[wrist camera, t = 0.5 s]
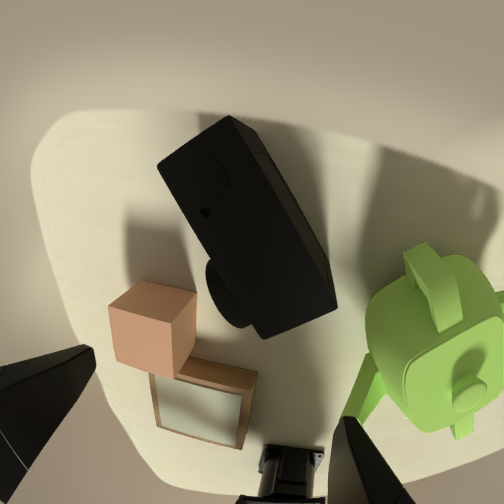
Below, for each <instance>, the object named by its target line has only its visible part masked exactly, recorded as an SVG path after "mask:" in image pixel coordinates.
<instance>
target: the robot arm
mask: <svg viewBox="0 0 504 504" xmlns="http://www.w3.org/2000/svg"><path fill="white" fill-rule="evenodd" d="M95 369H96V360H95V354H94V350H93V348H92V347H90V346H88V345H85V344H82V345H78V346H75V347H71V348H68V349H65V350H61V351H57V352H54V353H50V354H46V355H43V356H39V357H35V358H32V359H28V360H24V361H21V362H17V363H13V364H9V365H5V366H1V367H0V500H1V502H3V503H4V504H7V502H8V501H9V499H10V498H11V496H12V495H13V493H14V491H15V490H16V488H17V487H18V485H19V483H20V482H21V480H22V479H23V477H24V476H25V474H26V473H27V471H28V470H29V468H30V467H31V465H32V463H33V462H34V461H35V459H36V458H37V456H38V455H39V453H40V452H41V450H42V449H43V447H44V446H45V445H46V443H47V442H48V440H49V439H50V437H51V436H52V434H53V433H54V432H55V430H56V429H57V428H58V426H59V425H60V423H61V422H62V421H63V419H64V417H65V416H66V415H67V414H68V412H69V411H70V410H71V408H72V407H73V405H74V404H75V403H76V401H77V400H78V398H79V397H80V395H81V393H82V392H83V390H84V388H85V387H86V385H87V383H88V381H89V379H90V378H91V376H92V374H93V373H94V371H95ZM323 458H324V452H323V451H315V450H305V449H297V448H289V447H282V446H275V445H266V446H265V450H264V453H263V457H262V460H261V464H260V467H259V471H258V472H259V473H261V474H262V478H261V482H260V487H259V491H258V496H257V497H253V496H246V495H240V496H239V499H238V500H237V501H236V503H235V504H325V497H320V498H313V486H314V473H315V472H316V470H317V468H318V466H319V465H320V463H321V461H322V459H323ZM328 504H416V503H415V502H414V500H413V499H412V498H411V496H410V495H409V493H408V492H407V491H406V489H405V488H403V485H402V484H401V482H400V481H399V479H398V478H397V476H396V475H395V474H394V472H393V471H392V469H391V468H390V466H389V465H388V464H387V462H386V461H385V459H384V458H383V456H382V455H381V453H380V452H379V451H378V449H377V448H376V446H375V445H374V443H373V442H372V440H371V439H370V438H369V436H368V435H367V433H366V432H365V430H364V429H363V427H362V426H361V425H360V423H359V422H358V420H357V419H356V417H354V416H346V415H344V416H342V417H341V419H340V421H339V423H338V425H337V427H336V429H335V431H334V434H333V441H332V449H331V457H330V464H329V472H328Z"/></svg>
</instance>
